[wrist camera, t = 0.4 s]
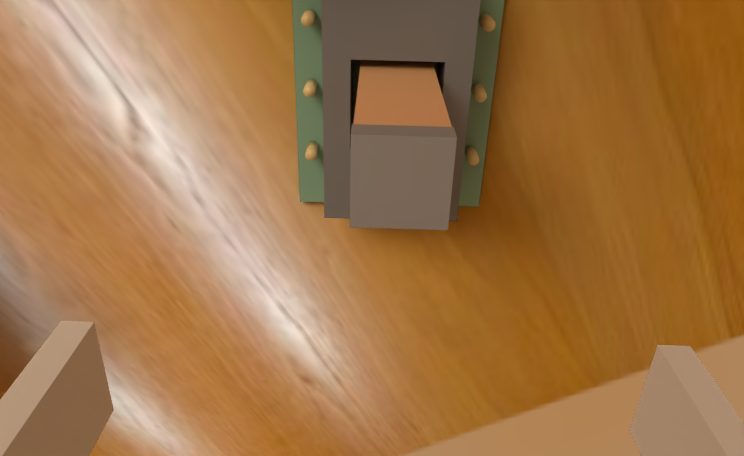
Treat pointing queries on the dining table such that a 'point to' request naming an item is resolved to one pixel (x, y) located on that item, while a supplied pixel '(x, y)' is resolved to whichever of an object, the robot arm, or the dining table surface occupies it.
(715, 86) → the dining table surface
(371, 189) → the plug
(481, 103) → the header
